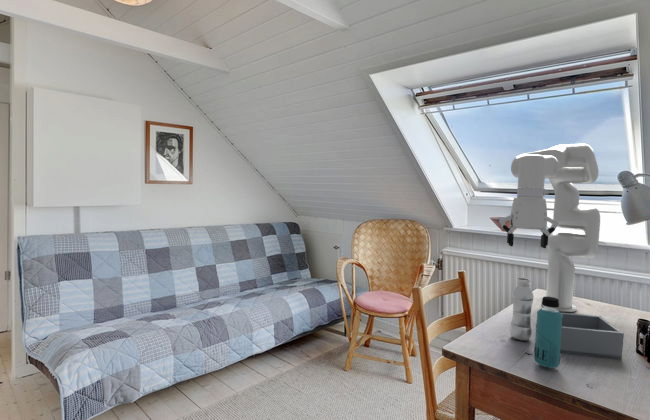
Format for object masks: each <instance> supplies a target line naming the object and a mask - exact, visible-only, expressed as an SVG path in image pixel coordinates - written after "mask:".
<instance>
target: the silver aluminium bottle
mask: <svg viewBox="0 0 650 420" xmlns="http://www.w3.org/2000/svg"><path fill="white" fill-rule="evenodd" d="M516 284H517V285H516V287H515V288H514V289H513V290H512V293H511V299H512V318H511V324H510V327H509V333H510V336H511V337H512V338H513V339H515V340H518V341H522V342H523V341H529V340H530V339H531V338H532V337H531V336H532V334H533V332H532V325H531V323H532V322H531V320H532V319H531V316H532V315H531V314H532V307H533V303H534V299H535V298H534V292H533V291H532V290H531V288H530V286H531V279H529V278H526V277H518V278H517V282H516Z"/></svg>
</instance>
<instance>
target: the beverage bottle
mask: <svg viewBox="0 0 650 420" xmlns="http://www.w3.org/2000/svg"><path fill="white" fill-rule="evenodd" d="M541 302H542V305H544V306H547V307H552V308H545V307H542V308H540V309H538V310H537V311H536V323H535V338H534V341H535V343H534V349H533V351H534V353H533V354H534V355H533V358H534V361H535V363H536V364H538V365H540V366H542V367H545V368H546V367H547V368H550V369H551V368H558V367H559V366H560V363H561V362H560V361H561V353H560V348H561V343H562V342H561V330H562V318H563V315H562V314H561V313H562V312H560V311H558V310H556V309H553V308H557V307H559V300H558V299H557V298H554V297H546V296H543V297H542V299H541ZM542 305H541V306H542Z"/></svg>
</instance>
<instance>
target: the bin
mask: <svg viewBox="0 0 650 420" xmlns="http://www.w3.org/2000/svg"><path fill="white" fill-rule="evenodd" d="M560 313H561V314H562V315H563V318H562V330H561V342H562V343H561V348H560V354H563V355H572V356H573V355H574V356H580V357H581V356H583V357H590V358H591V357H592V358H600V359H601V358H602V359H611V360H618V361H622V360H623V348H624V338H625V336H624V335H625V333H624V332H623V331H621V330H620V329H619V328H617V327H616V326H614V325H613V324H612V323H610V322H609V321H608V320H607V319H605V318H604V317H602V316H601V315H590V314H579V313H571V312H560Z"/></svg>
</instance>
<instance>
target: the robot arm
mask: <svg viewBox="0 0 650 420" xmlns="http://www.w3.org/2000/svg"><path fill="white" fill-rule="evenodd" d="M510 165H511V166H510V171H511V174H512V175H513V177H515V178H517V193H516V197H513V201H512V204H511V210H510V214H509V215H506V216H504V217H503V218H500V219H499V220H498V221H499V224H500V225H501V228H502V229H503V230H504V231H505V232H506V233H507V235H506V237H507V238H506V242H507V243H506V244H508V246H509V247H513V246H514V236H515V235H514V232H515V231H516V230H517V229H520V230H538V231H539V230H540V232H541V233H542V234H541V236H540V247H541V248H542V249H546V248H547V258H548V259H547V276H546V292H545V297H554V298H557V299H558V300H559V307H557V308H553V309H556V310H558V311H559V312H560V313H573V312H576V311H577V306H576V305H575V304H573V301H574V300H573V299H574V286H575V285H574V284H575V275H576V274H575V272H576V266H575V264H574V262H573V260H572V259H571V258H570V257H575V258H582V259H593V258H595V257H596V256H597V254H598V251H599V242H600V240H599V239H600V230H601V214H600V211H599V209H598V208H597V207H595V206H589V205H588V206H586V205H580V192H579V189H578V188H577V187H576V186H575V185H574V184H581V185H582V184H585V185H586V184H593V183H594V182H596V181H597V179H598V178H599V165H598V162H597V158H596V154H595V152H594V149H593V148H592V147H591V146H590V145H589V144H586V143H574V144H573V143H570V144H558V145H555V146H552V147H550V148H548V149H542V150H538V151H531V152H526V153H522V154H519V155H517V156H515V157H514V159H513V160H512V162H511V164H510ZM545 179H548V180H549V183H551V186H552V189H553V191H554V202H553V204H554V205H553V206H554V207H553V217H552V218H551V217H549V216H548V209H547V207H548V206H547V200H546V198H544V197H545V196H548V195H549V193H550V192H549V190H546V188H545ZM508 221H509V225H510V226H509V227H508V226H507V224H506V223H507V222H508ZM548 223H550V224H551V226H550V227H549V228H547V226H548ZM556 228H561V229H569V230H578V231H580V230H581V231H583V232H584V233H581V232H580V233H579V232H571V231H561V230H559V231H555V230H556ZM540 305H541V306H542V308H552V307H547V306H544V305H542V301H541V303H540Z"/></svg>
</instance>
